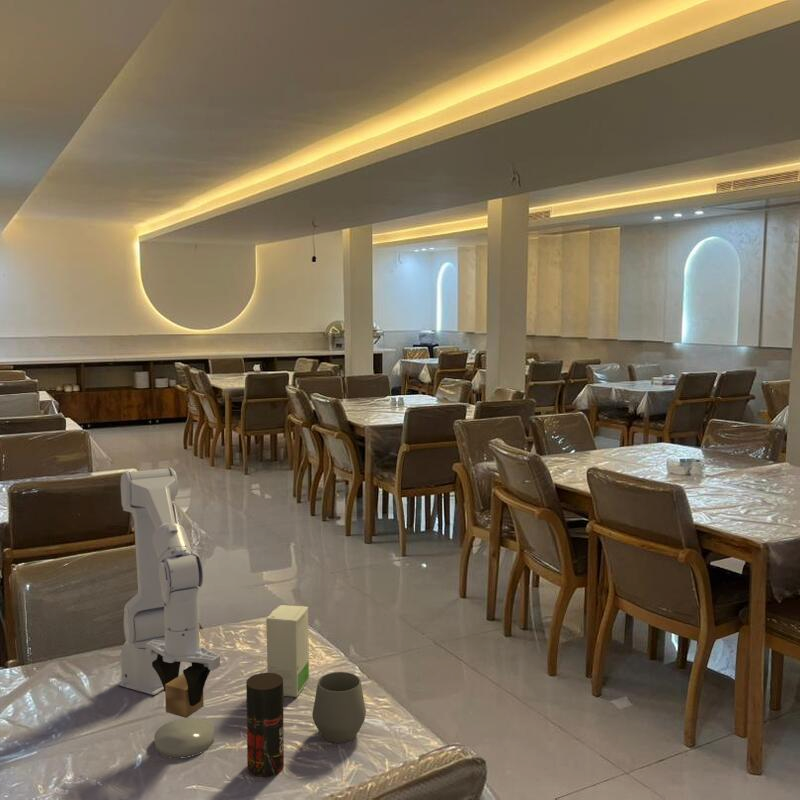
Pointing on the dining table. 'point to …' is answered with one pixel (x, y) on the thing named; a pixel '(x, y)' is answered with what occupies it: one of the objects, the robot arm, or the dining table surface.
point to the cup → (339, 706)
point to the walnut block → (180, 698)
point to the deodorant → (265, 725)
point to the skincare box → (289, 647)
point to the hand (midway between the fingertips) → (183, 700)
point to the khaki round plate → (184, 737)
